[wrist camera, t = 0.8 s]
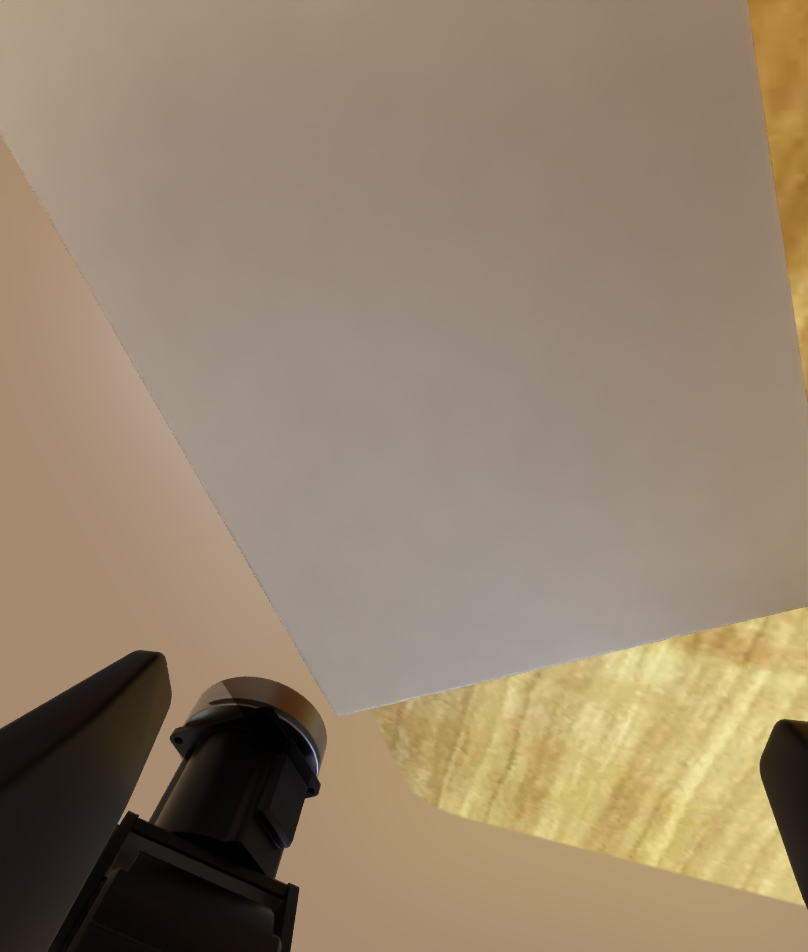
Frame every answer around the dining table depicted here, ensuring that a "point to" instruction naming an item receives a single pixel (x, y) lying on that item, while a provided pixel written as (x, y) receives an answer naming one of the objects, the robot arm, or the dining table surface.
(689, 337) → the cream block
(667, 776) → the dining table surface
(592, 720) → the dining table surface
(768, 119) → the dining table surface
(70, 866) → the robot arm
